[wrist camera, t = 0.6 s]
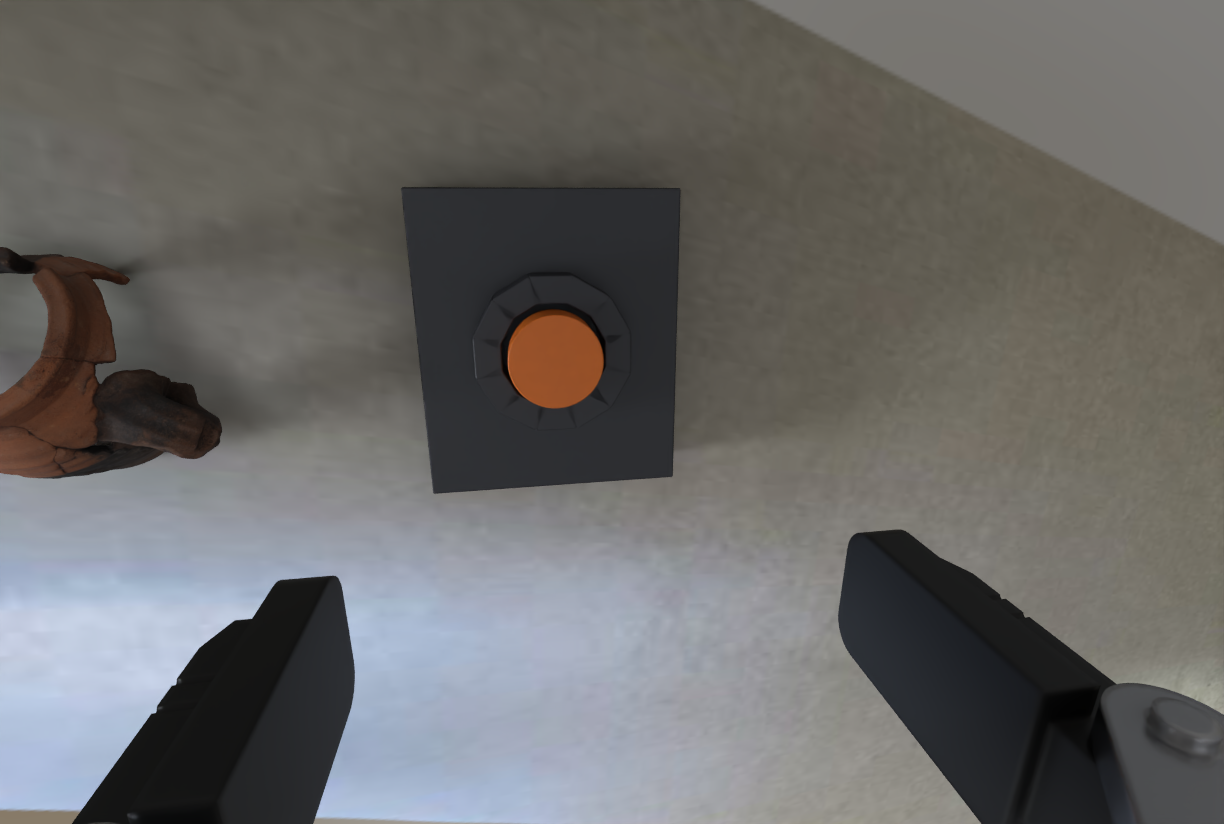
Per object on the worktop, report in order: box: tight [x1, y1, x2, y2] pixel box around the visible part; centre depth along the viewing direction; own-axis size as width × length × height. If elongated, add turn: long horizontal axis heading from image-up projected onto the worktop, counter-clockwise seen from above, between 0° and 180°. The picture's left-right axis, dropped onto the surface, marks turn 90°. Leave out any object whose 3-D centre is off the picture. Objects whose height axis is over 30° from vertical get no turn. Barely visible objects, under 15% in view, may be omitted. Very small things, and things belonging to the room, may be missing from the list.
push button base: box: [401, 187, 680, 494], centre depth 28 cm, size 14×12×5 cm
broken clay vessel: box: [0, 247, 222, 479], centre depth 26 cm, size 12×10×8 cm
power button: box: [508, 309, 604, 408], centre depth 26 cm, size 4×4×2 cm
